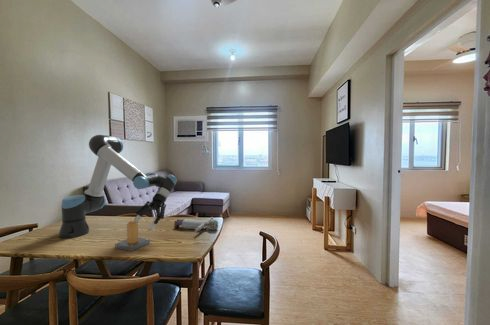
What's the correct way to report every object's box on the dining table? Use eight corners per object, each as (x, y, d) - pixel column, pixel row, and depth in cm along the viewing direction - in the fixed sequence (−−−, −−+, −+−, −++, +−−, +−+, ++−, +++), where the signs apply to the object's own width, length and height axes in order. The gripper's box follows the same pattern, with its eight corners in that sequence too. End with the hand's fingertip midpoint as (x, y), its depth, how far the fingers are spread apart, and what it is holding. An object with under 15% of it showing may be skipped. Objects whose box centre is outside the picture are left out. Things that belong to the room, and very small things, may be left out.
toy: (164, 235, 138) (209, 238, 132) (163, 224, 138) (209, 227, 132) (186, 221, 167) (224, 223, 161) (186, 212, 167) (224, 214, 161)
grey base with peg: (115, 247, 119) (114, 230, 118) (134, 239, 130) (133, 224, 129) (131, 251, 114) (131, 233, 114) (149, 242, 125) (149, 226, 125)
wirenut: (125, 242, 121) (124, 222, 120) (133, 239, 125) (133, 220, 125) (132, 243, 118) (131, 223, 118) (140, 240, 123) (140, 221, 123)
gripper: (179, 201, 138) (162, 233, 124) (149, 198, 148) (130, 227, 134) (173, 194, 133) (154, 226, 119) (142, 191, 143) (122, 221, 129)
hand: (141, 227), depth 127 cm, fingers open, 13 cm apart
